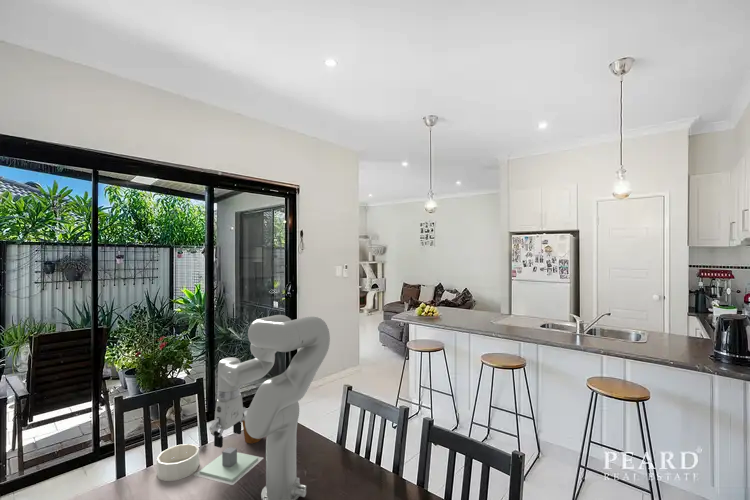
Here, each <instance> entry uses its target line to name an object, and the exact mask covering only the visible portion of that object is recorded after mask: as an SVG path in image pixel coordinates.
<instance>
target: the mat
mask: <svg viewBox="0 0 750 500" xmlns="http://www.w3.org/2000/svg"><path fill="white" fill-rule="evenodd" d="M237 453H241V454H246V455H251V456H255V457H258V460H257V461H256V462H254V463H253V464H252V465H251V466H250V467H249V468H247V469H246V470H245V471H244V472H243V473H242V474H240V475H239V476H238V477H237V478H236V479H235V480H234V481H228V480H224V479H220V478H216V477H212V476H208V475H204V474H200V470H202V469H203V468H205V467H206V466H207V465H209V464H210V463H211V462H213V461H214V460H215V459H217V458H218V457H219V456H221V455H222V453H221V454H219V455H218V456H217V457H215V458H214V459H213V460H211V461H209V462H208V463H207V464H206V465H204V466H203V467H202V468H200V469H199V470H197V472H196V471H195V472H194V473H193V476H194V477H199V478H202V479H206V480H211V481H213V482H218V483H220V484H226V485H229V486H234V485H235V484H236V483H237V482H239V480H241V479H242V478H243V477H244V476H245V475H246V474H247V473H249V472H250V471H251V470H253V468H254V467H256V466H257V465H258V464H259V463H260V462H261V461H263V460H264V457H263V456H257V455H253V454H248V453H243V452H238V451H237Z"/></svg>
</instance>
